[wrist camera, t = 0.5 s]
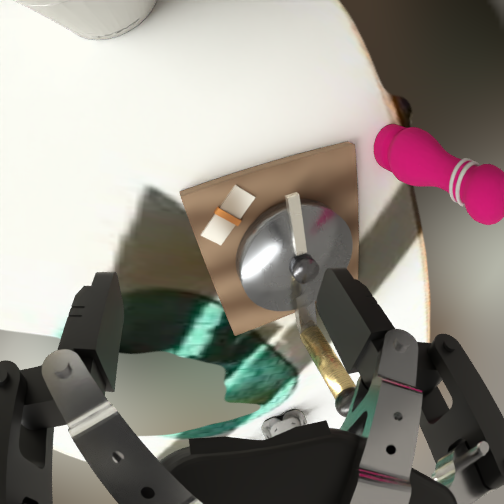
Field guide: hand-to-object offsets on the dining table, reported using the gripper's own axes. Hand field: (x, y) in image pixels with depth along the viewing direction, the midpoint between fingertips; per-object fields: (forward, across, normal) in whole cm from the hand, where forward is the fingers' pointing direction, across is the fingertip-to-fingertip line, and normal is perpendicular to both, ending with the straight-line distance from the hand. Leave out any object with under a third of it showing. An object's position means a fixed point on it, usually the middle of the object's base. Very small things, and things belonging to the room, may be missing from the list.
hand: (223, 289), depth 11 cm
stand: (+22, -11, +12) cm, 27 cm away
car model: (+22, -22, +69) cm, 76 cm away
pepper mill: (+24, -24, -2) cm, 34 cm away
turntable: (+20, -12, +14) cm, 27 cm away
